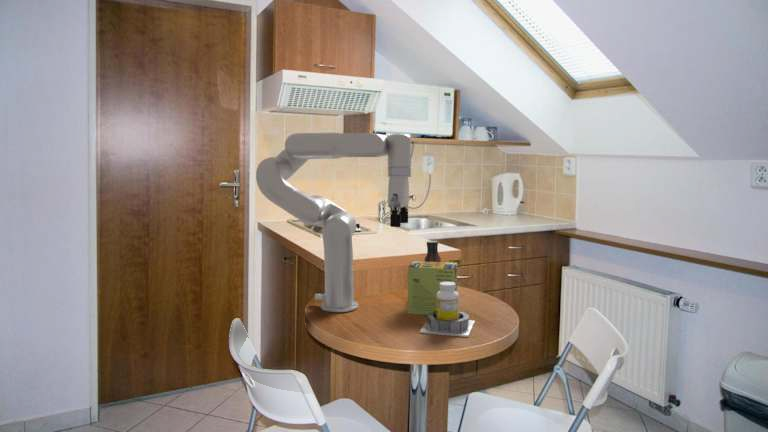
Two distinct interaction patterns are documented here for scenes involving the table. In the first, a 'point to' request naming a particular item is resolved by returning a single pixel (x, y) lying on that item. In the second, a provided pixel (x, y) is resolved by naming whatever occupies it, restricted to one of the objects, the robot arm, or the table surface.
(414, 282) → the protein box
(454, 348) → the table surface
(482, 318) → the table surface
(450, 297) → the supplement bottle
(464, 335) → the ring collar
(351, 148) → the robot arm
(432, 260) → the sauce bottle
